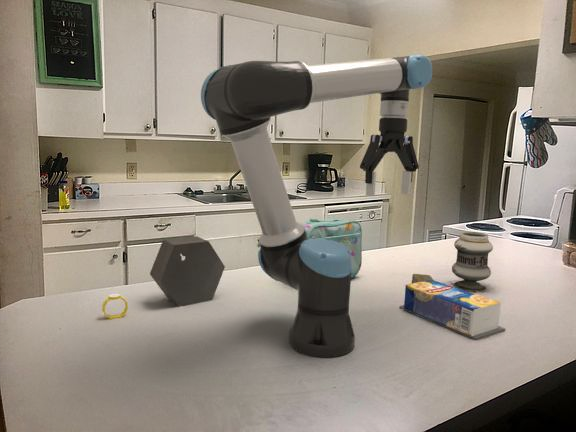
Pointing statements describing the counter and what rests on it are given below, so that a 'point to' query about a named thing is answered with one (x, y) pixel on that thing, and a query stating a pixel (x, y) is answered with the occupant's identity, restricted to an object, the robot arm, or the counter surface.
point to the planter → (187, 270)
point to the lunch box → (339, 236)
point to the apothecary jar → (472, 260)
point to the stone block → (420, 278)
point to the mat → (475, 337)
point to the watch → (113, 297)
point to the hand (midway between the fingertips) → (388, 194)
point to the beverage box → (452, 307)
